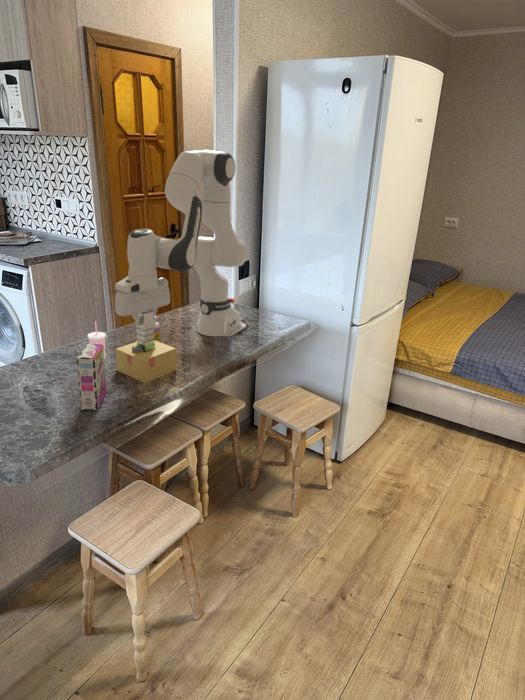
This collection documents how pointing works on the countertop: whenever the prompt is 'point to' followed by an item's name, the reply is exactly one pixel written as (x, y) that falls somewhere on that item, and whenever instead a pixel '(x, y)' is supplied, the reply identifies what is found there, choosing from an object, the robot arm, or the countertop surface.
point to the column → (146, 331)
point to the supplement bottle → (156, 331)
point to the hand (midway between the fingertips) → (144, 322)
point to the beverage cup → (97, 338)
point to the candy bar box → (91, 376)
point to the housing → (146, 361)
